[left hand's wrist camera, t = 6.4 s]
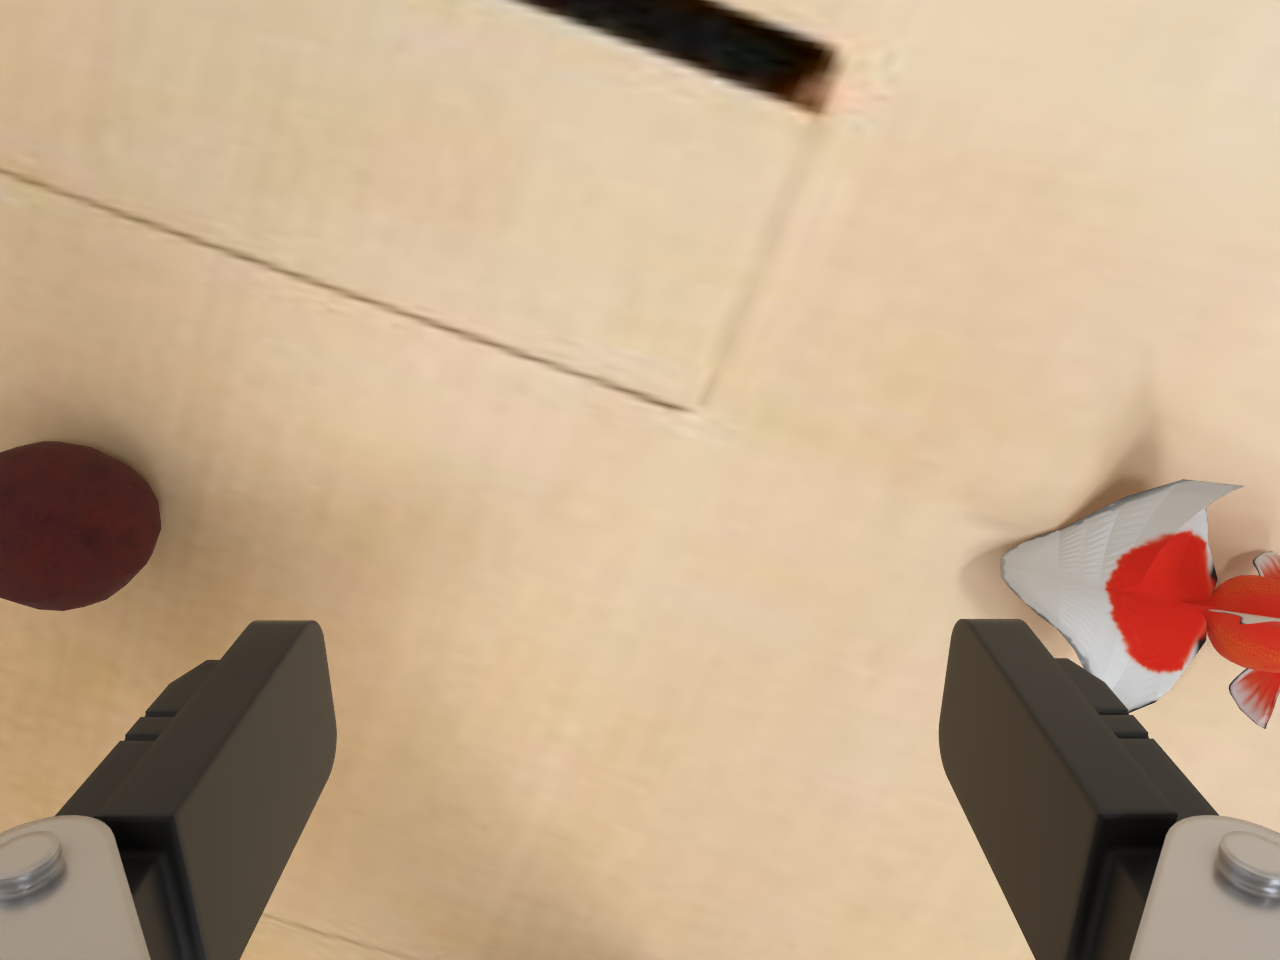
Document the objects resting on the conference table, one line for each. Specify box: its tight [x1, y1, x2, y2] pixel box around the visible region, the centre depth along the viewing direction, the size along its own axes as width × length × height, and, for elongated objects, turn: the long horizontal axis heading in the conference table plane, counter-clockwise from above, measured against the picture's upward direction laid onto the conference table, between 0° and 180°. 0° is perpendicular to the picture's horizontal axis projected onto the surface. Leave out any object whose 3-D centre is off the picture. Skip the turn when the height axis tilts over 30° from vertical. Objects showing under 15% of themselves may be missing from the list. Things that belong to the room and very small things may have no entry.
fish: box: [1001, 479, 1280, 729], centre depth 40 cm, size 11×16×10 cm
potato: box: [0, 442, 161, 611], centre depth 39 cm, size 7×8×7 cm
